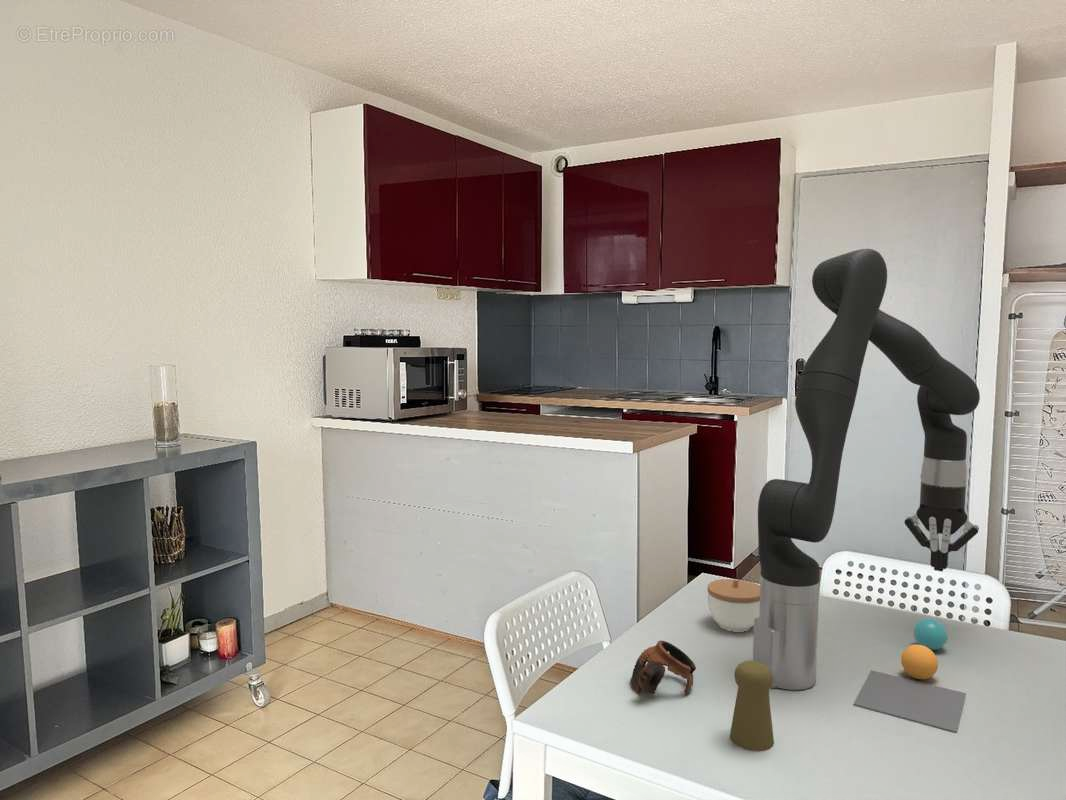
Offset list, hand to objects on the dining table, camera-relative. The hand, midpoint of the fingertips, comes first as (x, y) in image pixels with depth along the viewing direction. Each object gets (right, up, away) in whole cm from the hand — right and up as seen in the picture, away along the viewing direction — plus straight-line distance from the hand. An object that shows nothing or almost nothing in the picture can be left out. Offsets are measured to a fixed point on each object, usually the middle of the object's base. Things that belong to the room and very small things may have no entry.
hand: (938, 569), depth 142 cm
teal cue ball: (-5, -10, -7) cm, 14 cm away
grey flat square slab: (-19, -15, -26) cm, 35 cm away
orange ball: (-13, -11, -18) cm, 25 cm away
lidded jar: (-38, -12, +3) cm, 40 cm away
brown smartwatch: (-58, -15, -22) cm, 64 cm away
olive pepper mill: (-47, -16, -37) cm, 62 cm away
